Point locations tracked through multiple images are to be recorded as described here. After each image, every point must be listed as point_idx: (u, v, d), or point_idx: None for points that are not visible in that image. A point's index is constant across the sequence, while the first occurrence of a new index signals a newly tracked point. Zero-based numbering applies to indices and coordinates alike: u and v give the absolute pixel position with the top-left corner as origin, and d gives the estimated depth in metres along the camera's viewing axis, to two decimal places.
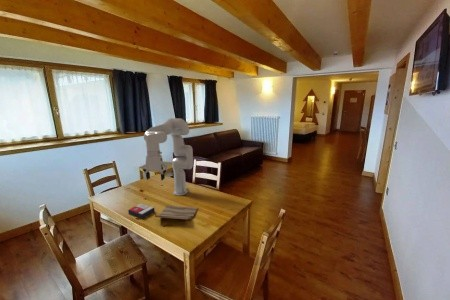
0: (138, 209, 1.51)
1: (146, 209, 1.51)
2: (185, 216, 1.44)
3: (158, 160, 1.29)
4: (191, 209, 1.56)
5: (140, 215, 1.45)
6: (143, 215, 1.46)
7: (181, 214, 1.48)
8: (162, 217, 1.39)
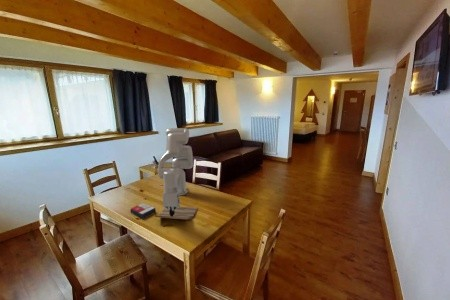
0: (139, 209, 1.51)
1: (147, 209, 1.51)
2: (185, 216, 1.44)
3: (175, 197, 1.34)
4: (191, 209, 1.56)
5: (140, 215, 1.46)
6: (143, 215, 1.45)
7: (181, 214, 1.48)
8: (162, 217, 1.39)
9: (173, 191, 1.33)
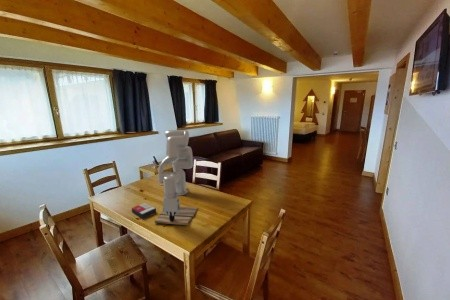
0: (140, 208, 1.52)
1: (147, 209, 1.51)
2: (185, 217, 1.44)
3: (175, 202, 1.34)
4: (191, 209, 1.56)
5: (140, 215, 1.46)
6: (143, 215, 1.45)
7: (181, 214, 1.48)
8: None
9: (173, 196, 1.33)
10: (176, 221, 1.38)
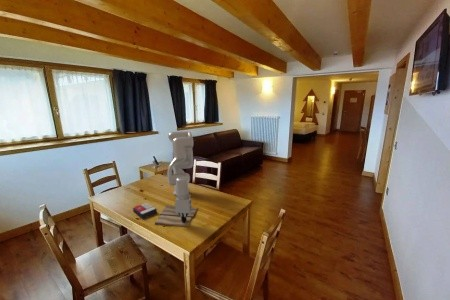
0: (141, 208, 1.52)
1: (148, 209, 1.51)
2: None
3: (187, 203, 1.34)
4: None
5: (141, 215, 1.46)
6: (143, 215, 1.45)
7: None
8: (162, 224, 1.39)
9: (186, 198, 1.33)
10: (176, 222, 1.39)
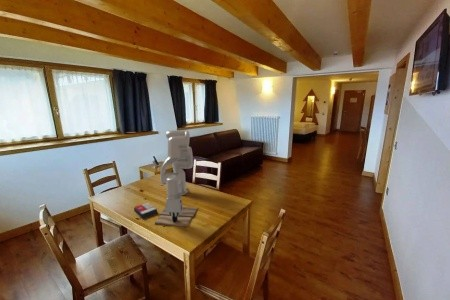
0: (142, 208, 1.52)
1: (148, 209, 1.50)
2: (185, 218, 1.44)
3: (178, 202, 1.35)
4: (191, 209, 1.56)
5: (141, 215, 1.46)
6: (143, 215, 1.45)
7: (181, 214, 1.48)
8: (162, 224, 1.39)
9: (176, 197, 1.34)
10: (176, 222, 1.39)
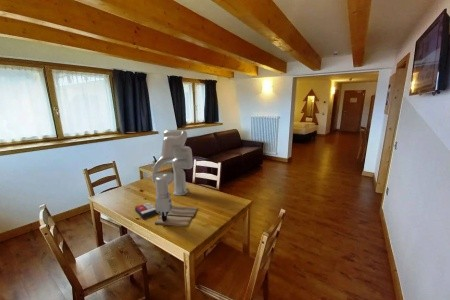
0: (142, 208, 1.52)
1: (149, 209, 1.50)
2: (185, 218, 1.44)
3: (167, 202, 1.36)
4: (191, 209, 1.56)
5: (141, 215, 1.46)
6: (143, 215, 1.45)
7: (181, 214, 1.48)
8: (162, 224, 1.39)
9: (165, 196, 1.35)
10: (176, 222, 1.39)
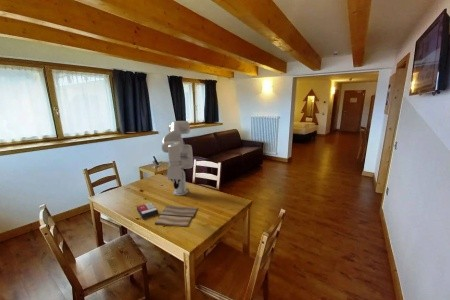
0: (143, 208, 1.53)
1: (149, 210, 1.50)
2: (185, 218, 1.44)
3: (179, 169, 1.39)
4: (191, 209, 1.56)
5: (141, 214, 1.46)
6: (143, 215, 1.45)
7: (181, 214, 1.48)
8: (162, 224, 1.39)
9: (177, 164, 1.37)
10: (176, 222, 1.39)
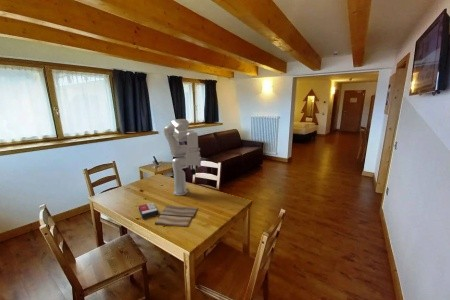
0: (145, 208, 1.53)
1: (150, 210, 1.50)
2: (185, 218, 1.44)
3: (197, 156, 1.47)
4: (191, 209, 1.56)
5: (141, 214, 1.46)
6: (143, 215, 1.45)
7: (181, 214, 1.48)
8: (162, 224, 1.39)
9: (195, 150, 1.46)
10: (176, 222, 1.39)
